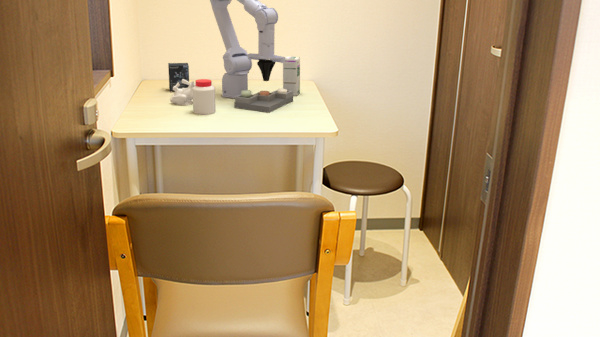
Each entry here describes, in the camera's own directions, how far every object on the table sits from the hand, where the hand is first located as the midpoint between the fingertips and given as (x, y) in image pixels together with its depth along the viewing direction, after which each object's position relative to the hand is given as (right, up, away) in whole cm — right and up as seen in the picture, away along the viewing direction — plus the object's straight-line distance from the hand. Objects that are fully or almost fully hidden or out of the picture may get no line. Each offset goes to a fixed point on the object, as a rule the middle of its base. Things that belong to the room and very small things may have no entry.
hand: (266, 80), depth 220 cm
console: (-1, -8, +2) cm, 9 cm away
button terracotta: (-1, -6, +1) cm, 6 cm away
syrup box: (+9, -3, +19) cm, 21 cm away
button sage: (-7, -6, -3) cm, 10 cm away
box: (-36, -1, +21) cm, 42 cm away
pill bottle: (-21, -12, -10) cm, 26 cm away
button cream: (+6, -5, +5) cm, 9 cm away
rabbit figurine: (-29, -9, 0) cm, 30 cm away
